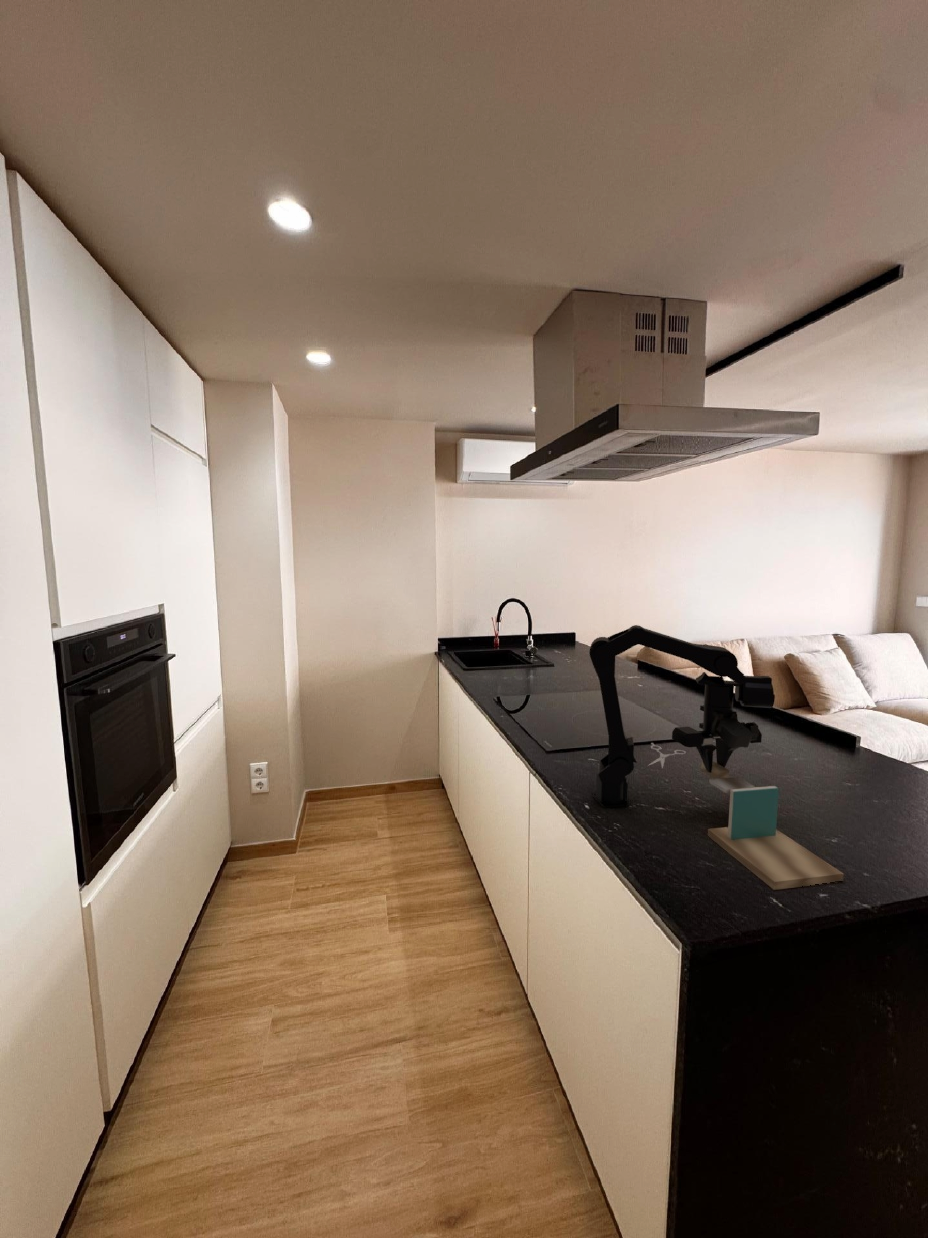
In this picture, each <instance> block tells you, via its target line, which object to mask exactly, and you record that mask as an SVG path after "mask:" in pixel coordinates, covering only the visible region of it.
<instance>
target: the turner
mask: <svg viewBox="0 0 928 1238" xmlns="http://www.w3.org/2000/svg"><path fill="white" fill-rule="evenodd" d="M700 771H701V773H703V774H705V775H707V776H708V777H710V779H708V781H709V782H708V783H709V784H710V785H711V786H713V787H715V788H716V789H718V790H720V791H721V792H723V793H724V794H728V793H730V790H731V789H743V788H755V786H754V785H752V784H751V783H749V782H747V781H746V780H744V779H743V778H740V777H739V776H732V777H730V770H729V769H728V768H727V767H725V768H724V767H723V766H721V765H719V764H717V761H716V762H715V760H713V764H712V771H711V773H709V772H707V770H706V768H705V766H704V763H703V761H702V760H701V767H700Z"/></svg>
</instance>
